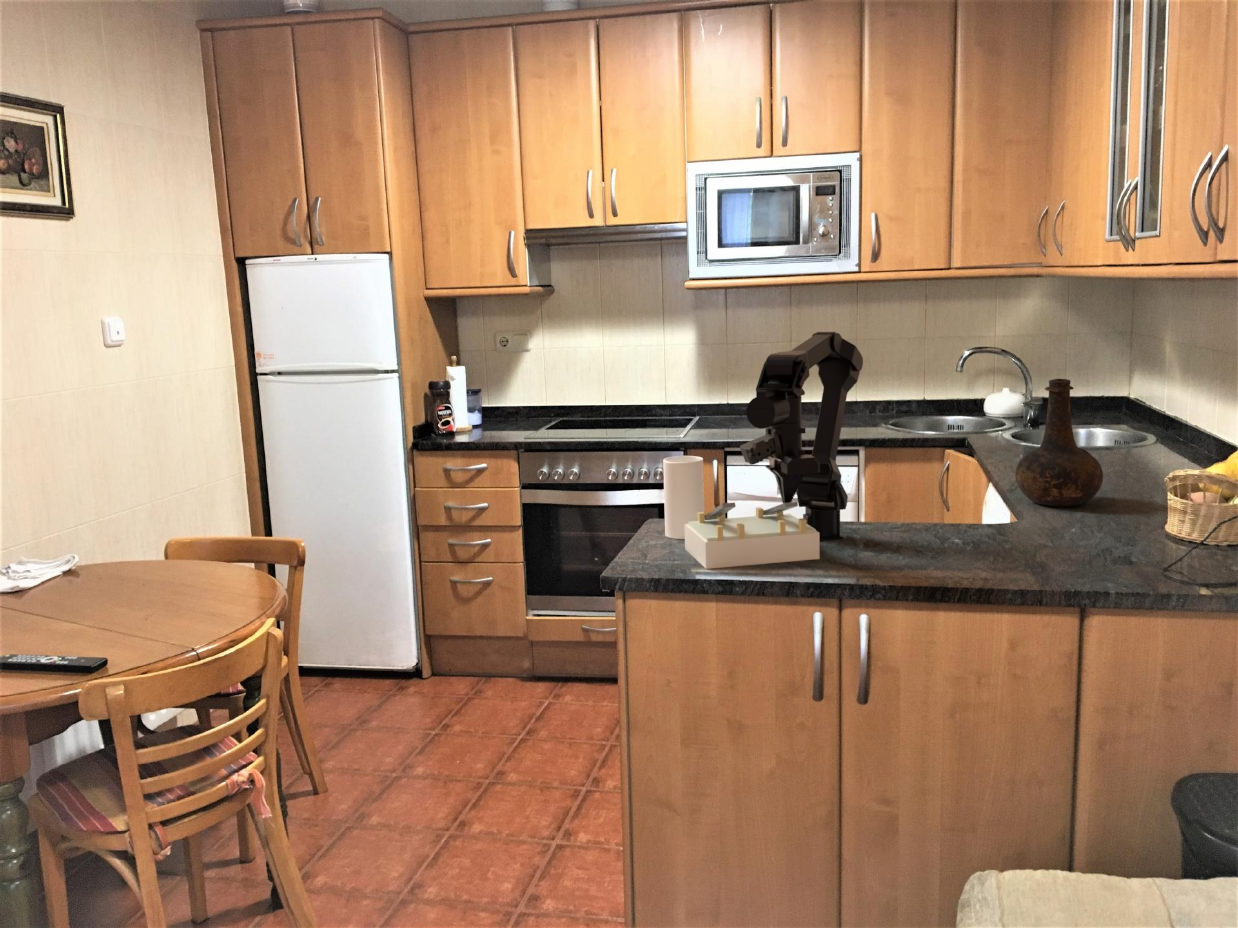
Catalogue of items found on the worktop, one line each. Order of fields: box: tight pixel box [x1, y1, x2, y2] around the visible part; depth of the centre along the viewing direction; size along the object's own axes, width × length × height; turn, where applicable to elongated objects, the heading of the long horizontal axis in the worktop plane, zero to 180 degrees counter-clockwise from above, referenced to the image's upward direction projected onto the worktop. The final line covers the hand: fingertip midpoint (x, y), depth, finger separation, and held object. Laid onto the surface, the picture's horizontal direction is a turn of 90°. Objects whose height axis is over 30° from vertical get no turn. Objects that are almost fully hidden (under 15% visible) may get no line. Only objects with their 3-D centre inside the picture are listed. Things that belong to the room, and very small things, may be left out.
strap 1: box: [704, 502, 736, 520], centre depth 193 cm, size 14×2×1 cm, turn 11°
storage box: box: [684, 506, 820, 570], centre depth 194 cm, size 22×15×8 cm
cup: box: [662, 455, 705, 540], centre depth 211 cm, size 8×8×16 cm
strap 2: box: [763, 501, 799, 516], centre depth 195 cm, size 14×2×1 cm, turn 11°
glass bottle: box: [1014, 378, 1104, 508], centre depth 227 cm, size 18×18×28 cm
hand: (786, 504), depth 191 cm, fingers closed
